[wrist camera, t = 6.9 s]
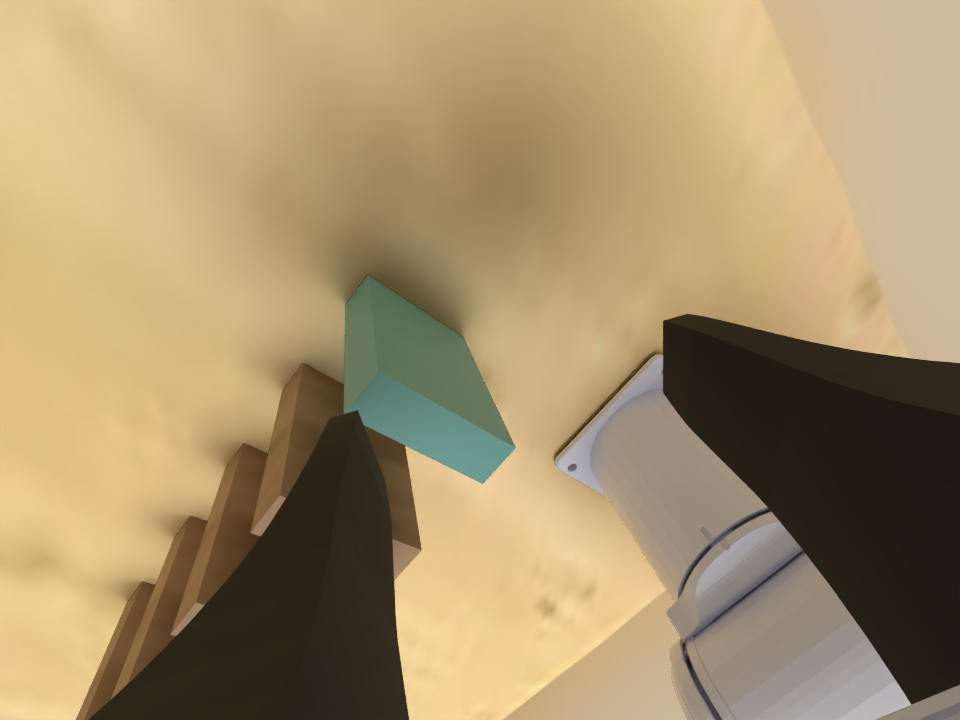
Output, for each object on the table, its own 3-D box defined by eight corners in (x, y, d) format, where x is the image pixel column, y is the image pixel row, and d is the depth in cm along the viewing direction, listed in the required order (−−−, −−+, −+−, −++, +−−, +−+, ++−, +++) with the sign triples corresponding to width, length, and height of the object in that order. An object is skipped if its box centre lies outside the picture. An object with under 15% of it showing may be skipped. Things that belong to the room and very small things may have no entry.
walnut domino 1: (241, 607, 26) (203, 787, 20) (225, 626, 27) (183, 809, 20) (142, 581, 24) (60, 775, 17) (126, 602, 24) (41, 799, 18)
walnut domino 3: (342, 485, 24) (339, 639, 17) (324, 507, 25) (314, 666, 18) (243, 443, 22) (195, 602, 15) (225, 468, 22) (170, 634, 15)
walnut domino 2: (289, 549, 25) (267, 718, 18) (272, 569, 26) (245, 742, 19) (190, 516, 23) (123, 695, 16) (173, 538, 23) (101, 723, 17)
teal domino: (463, 337, 22) (515, 448, 15) (441, 364, 22) (483, 483, 15) (367, 274, 20) (378, 370, 13) (345, 305, 20) (343, 415, 13)
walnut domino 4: (399, 414, 23) (421, 550, 16) (380, 439, 23) (392, 581, 17) (302, 362, 21) (279, 495, 14) (282, 390, 21) (250, 532, 14)
